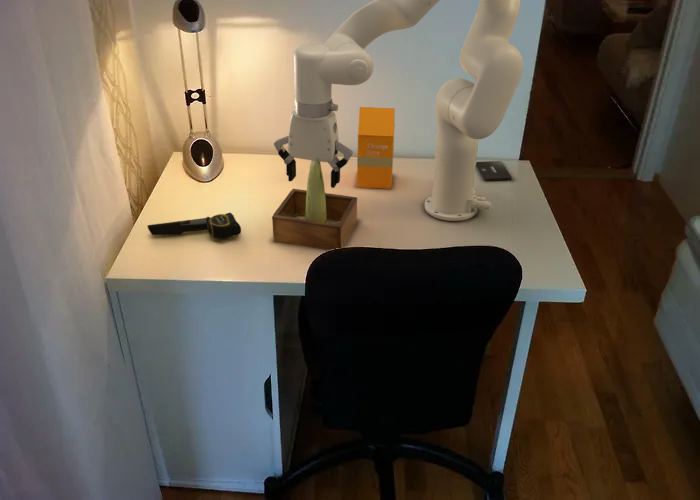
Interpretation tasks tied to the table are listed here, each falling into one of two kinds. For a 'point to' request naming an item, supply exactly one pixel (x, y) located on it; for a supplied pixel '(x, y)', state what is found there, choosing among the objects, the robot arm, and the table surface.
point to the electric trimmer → (179, 227)
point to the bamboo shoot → (315, 194)
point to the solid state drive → (493, 170)
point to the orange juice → (375, 147)
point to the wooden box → (310, 230)
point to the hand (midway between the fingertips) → (313, 182)
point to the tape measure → (223, 226)
